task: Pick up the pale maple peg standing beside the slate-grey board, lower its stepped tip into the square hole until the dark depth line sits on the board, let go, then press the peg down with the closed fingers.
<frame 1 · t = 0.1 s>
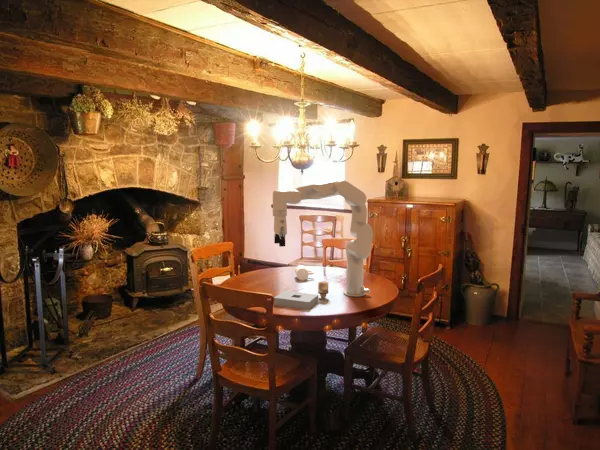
hand: (279, 244, 235), 31 cm above the table, tool pointing down, fingers open, 9 cm apart
mug: (304, 278, 288), on the table
maple peg: (323, 298, 244), on the table
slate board: (296, 303, 234), on the table
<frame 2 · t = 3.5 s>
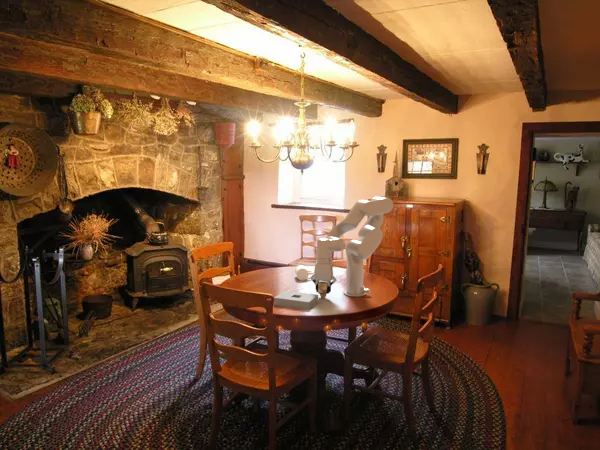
hand: (323, 291, 244), 4 cm above the table, tool pointing down, fingers closed on maple peg, 5 cm apart
maple peg: (323, 298, 244), on the table, touching gripper
everything else where it was.
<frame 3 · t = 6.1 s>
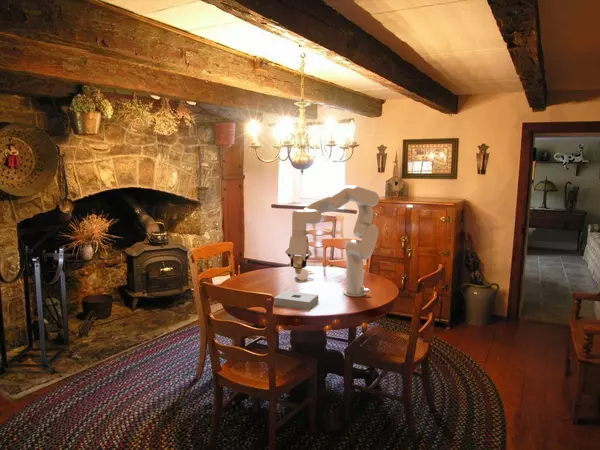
hand: (298, 266, 232), 20 cm above the table, tool pointing down, fingers closed on maple peg, 5 cm apart
maple peg: (298, 273, 233), point 17 cm above the table, touching gripper
everything else where it was.
when the fingers open (6 cm above the table, at t = 8.7 s): maple peg drops 1 cm, resting on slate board.
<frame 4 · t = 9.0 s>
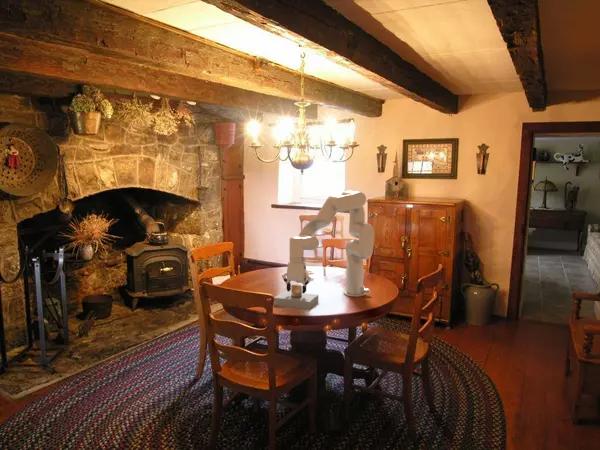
hand: (296, 291, 233), 7 cm above the table, tool pointing down, fingers open, 8 cm apart
maple peg: (296, 301, 234), point 1 cm above the table, touching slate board
everything else where it was.
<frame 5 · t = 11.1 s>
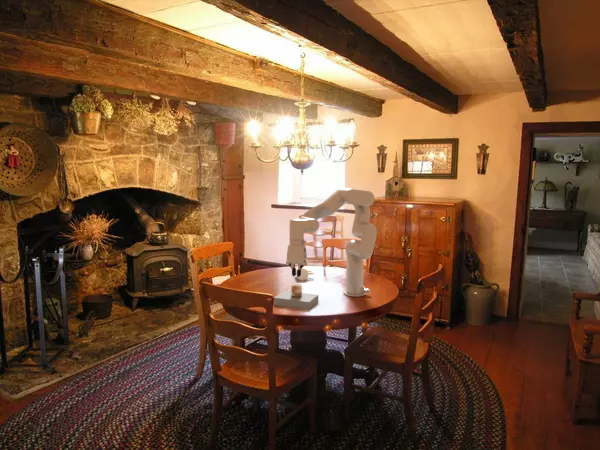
hand: (296, 276, 232), 15 cm above the table, tool pointing down, fingers closed
nothing on the table moved.
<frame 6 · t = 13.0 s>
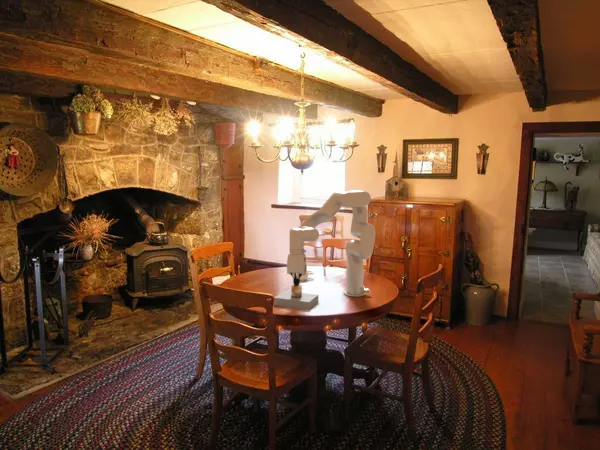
hand: (296, 285, 233), 10 cm above the table, tool pointing down, fingers closed
nothing on the table moved.
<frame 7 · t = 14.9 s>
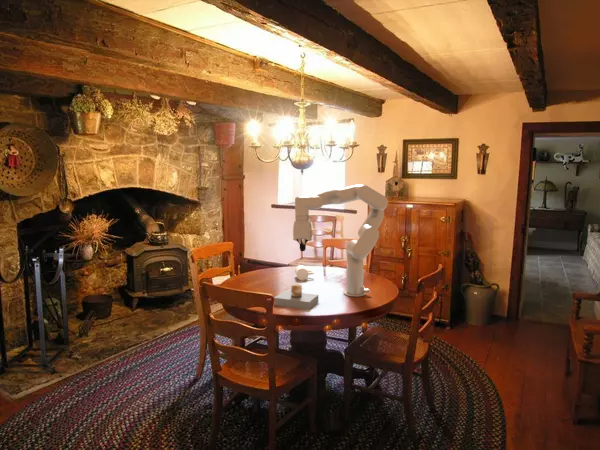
hand: (302, 250, 244), 26 cm above the table, tool pointing down, fingers closed
nothing on the table moved.
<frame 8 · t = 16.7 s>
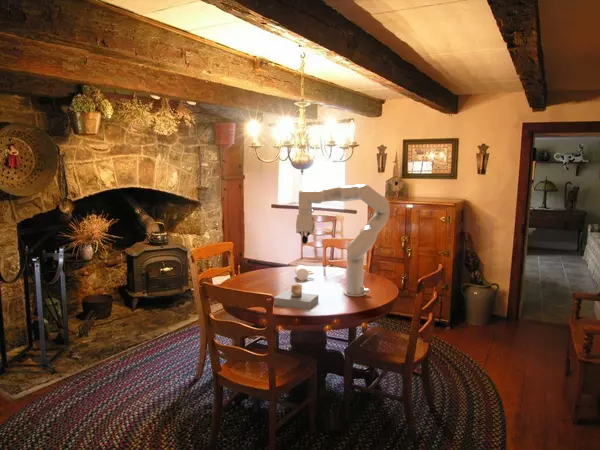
hand: (304, 243, 252), 29 cm above the table, tool pointing down, fingers closed
nothing on the table moved.
at the end: maple peg 0.1 cm off-centre on the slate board, point 1.0 cm above the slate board's base; maple peg tilted 0°; the gripper is holding nothing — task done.
